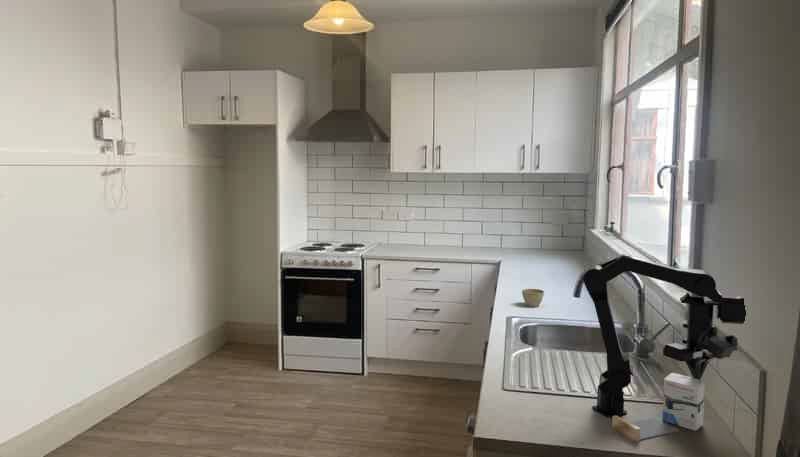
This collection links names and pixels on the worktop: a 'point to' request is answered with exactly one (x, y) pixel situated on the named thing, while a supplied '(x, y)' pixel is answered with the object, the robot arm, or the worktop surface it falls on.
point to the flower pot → (532, 297)
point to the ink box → (683, 401)
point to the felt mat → (653, 428)
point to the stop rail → (626, 428)
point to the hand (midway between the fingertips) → (696, 381)
